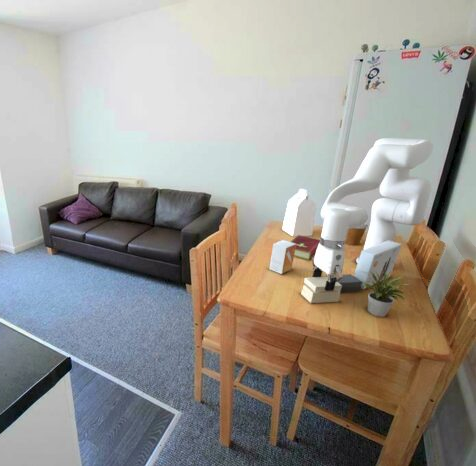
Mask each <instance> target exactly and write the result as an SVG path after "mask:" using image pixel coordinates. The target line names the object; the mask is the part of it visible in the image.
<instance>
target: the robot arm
mask: <svg viewBox="0 0 476 466" xmlns="http://www.w3.org/2000/svg"><path fill="white" fill-rule="evenodd" d="M433 149H434V144H433V142H432V141H431V140H430V139H426V138H406V137H405V138H404V137H383V138H379V139H377V140H376V141H375V142H374V143H373V146H372V147H371V148H370V149H369V150H368V152H367V154H366V156H365V158H364V159H363V161H362V162H361V164H360V166H359V168H358V170H357V171H356V173H355V175H354V177H353V178H351V179H349V180H347V181H345V182H343V183H341V184H340V185H338V186H337V187H335V188H334V189H333V190H332V191H331V192H330V193H329V195H328V196H327V198H326V199H325V202H324V203H323V205H322V207H321V209H320V217H321V219H322V220H323V224H322V229H321V234H320V238H319V239H320V243H319V245H318V247H317V250H316V252H315V253H314V255H313V256H312V257H311V261H312V266H313V267H312V270H313V271H312V276H311V277H322V275H323V273H325V274H326V276H328V281H326V285H325V291H333V290H334V287H335V283H336V282H337V281H339V280H340V279H342V278H343V275H344V274H343V269H344V264H345V257H346V255H345V249H344V248H345V243H346V242H345V240H346V235H347V231H348V228H357V227H360V226H362V225H363V224H365V223H366V222H367V221H368V218H369V213H368V210H367V209H365V208H363V207H361V206H356V205H355V206H354V205H350V204H346V203H342V202H340V201H341V200H342V199H344V198H345V197H348V196H350V195H354V194H359V193H364V192H369V191H373V190H376V189H378V188H379V194H380V195H381V196H383V197H382V198H381V197H380V198H378V199H376V200H375V201H374V202H373V203H372V206H371V213H370V214H371V215H370V223H369V226H368V231H367V234H366V238H365V241H364V245H363V249H362V250H364V249H367V248H370V247H372V246H375V245H378V244H380V243H383V242H385V241H388V240H390V241H393V242H395V241H394V240H395V238H396V234H397V228H396V226H395V224H394V223H397V224H402V225H407V226H419V225H420V224H421V223H422V222H423V220H424V218H425V216H426V212H427V208H428V205H429V204H428V203H429V201H430V196H431V192H432V183H431V181H430V180H429V179H427V178H423V177H417V176H411V175H410V170H413V169H415V168H417V167H418V166H420V165H422V164H424V163H425V162H426V161H427V160H428V159H429V158H430V157H431V155H432V153H433ZM359 258H360V256H358V257H357V258H356V260H355V262H356V263H357V264H358V261H359ZM397 261H398V258H397V259H396V262H397ZM331 275H333V278H331Z"/></svg>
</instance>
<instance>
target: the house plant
mask: <svg viewBox="0 0 476 466" xmlns="http://www.w3.org/2000/svg"><path fill="white" fill-rule="evenodd" d="M359 271H360V270H359ZM362 272H364V271H362ZM374 272H375V271H374ZM365 273H366V272H365ZM370 273H371V272H370ZM390 273H391V272H390ZM390 273H388V275H387V274H386V272H385V275H384V280H382V281H380V278H379V275H378V274H377V275H378V278H379V280H377V278H376V276H375V275H374V273H373V272H372V273H371V274H372V276H373V278H374V280H375V282H376V284H375V283H374V281H373V282H372V283H373V284H374V285H372V286H370V285H369V284H363V285H364V287H367V288H366V289H371V290H372V291H371V292H369V293H368V299H367V312H368V313H369V314H372V315H373V316H375V317H385V316H387V313H388V312H389V311H390V309H391V307H392V306H393V304H394V302H395V300H396V301H399V299H402V301H405V298H404V296H403V295H402V294H404V295H406V296H407V294H406V293H405V292H404V291H402V290H400V289H403V288H402V286H410V284H409V283H403V284H399V285H396V284H397V283H399V282H400V281H401V280H402V279H403V278H404V277H405V275H399V276H397V277H396V278H394V279H391V280H390V281H388V279H389V277H388V276H389V274H390ZM391 274H392V273H391ZM368 275H369V274H368ZM369 276H370V275H369ZM387 281H388V282H387ZM370 282H371V281H370ZM395 285H396V286H395ZM373 286H374V287H373Z"/></svg>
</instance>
